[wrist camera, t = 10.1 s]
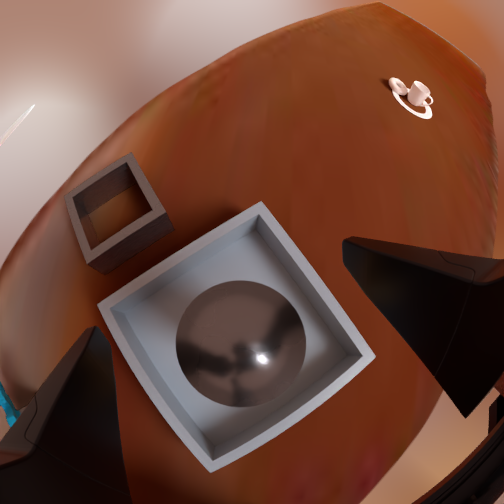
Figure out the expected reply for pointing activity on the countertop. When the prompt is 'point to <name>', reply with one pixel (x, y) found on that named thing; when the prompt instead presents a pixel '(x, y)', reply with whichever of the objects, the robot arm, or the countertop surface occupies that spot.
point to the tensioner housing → (129, 237)
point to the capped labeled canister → (240, 343)
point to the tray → (193, 284)
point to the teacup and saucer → (412, 96)
